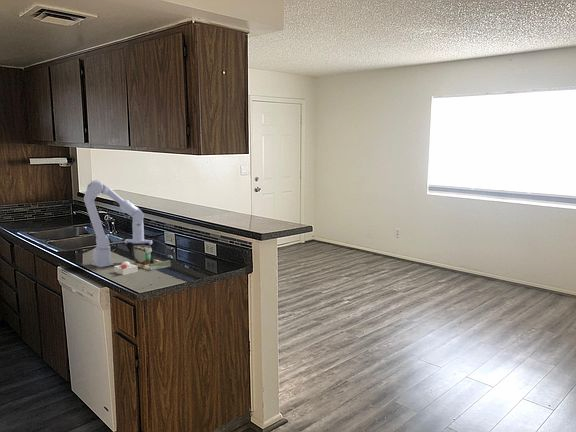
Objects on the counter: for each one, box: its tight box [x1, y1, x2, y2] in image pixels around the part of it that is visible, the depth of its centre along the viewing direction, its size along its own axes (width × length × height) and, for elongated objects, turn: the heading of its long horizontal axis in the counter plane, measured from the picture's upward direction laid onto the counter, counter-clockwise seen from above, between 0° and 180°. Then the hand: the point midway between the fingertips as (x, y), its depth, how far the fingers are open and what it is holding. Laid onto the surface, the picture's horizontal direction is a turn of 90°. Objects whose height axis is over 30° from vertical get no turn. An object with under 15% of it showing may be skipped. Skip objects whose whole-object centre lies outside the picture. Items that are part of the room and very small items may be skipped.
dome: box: [120, 260, 132, 268], centre depth 238 cm, size 5×5×5 cm
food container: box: [133, 244, 153, 266], centre depth 252 cm, size 12×6×10 cm, turn 48°
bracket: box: [134, 259, 172, 271], centre depth 251 cm, size 14×12×3 cm
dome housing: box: [113, 263, 139, 276], centre depth 238 cm, size 8×8×5 cm
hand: (138, 256), depth 258 cm, fingers open, 7 cm apart
